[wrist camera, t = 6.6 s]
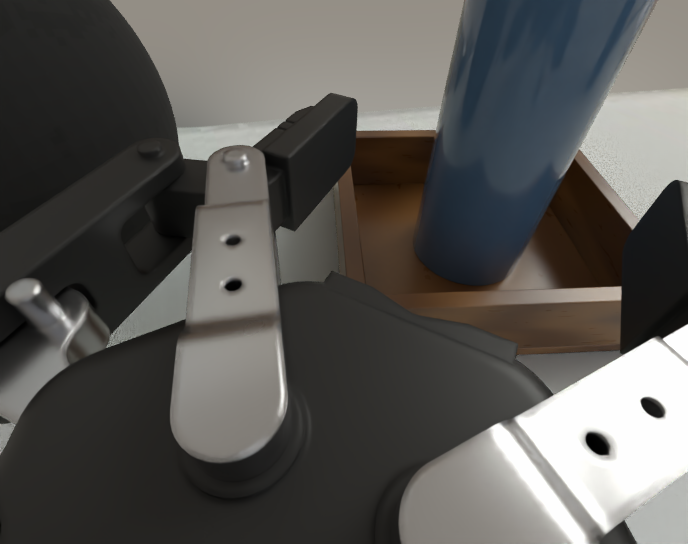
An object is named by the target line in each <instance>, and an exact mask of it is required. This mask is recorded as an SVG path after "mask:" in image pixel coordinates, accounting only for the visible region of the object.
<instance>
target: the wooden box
mask: <svg viewBox="0 0 688 544" xmlns="http://www.w3.org/2000/svg"><path fill="white" fill-rule="evenodd" d="M435 132H436V130H403V131H356V147H355V154H354V158H353V161H352V164H351V166H350V167H349V169H348V170H347V171H346V172H345V174H344V175H343V176H342V177H341V178H340V179H339V181H338V182H337V183H336V184H335V185H334V186H333V193H334V206H335V220H336V233H337V247H338V260H339V274H341V275H344V276H346V277H349V278H352V279H354V280H357V281H359V282H362V283H364V284H367V285H369V286H372V287H374V288H375V289H377V290H378V291H380V292H381V293H383V294H384V295H386V296H387V297H389V298H390V299H392V300H393V301H395V302H396V303H398V304H399V305H401V306H402V307H404V308H405V309H407V310H408V311H410V312H411V313H413V314H416V315H420V316H425V317H431V318H437V319H443V320H448V321H454V322H460V323H465V324H469V325H472V326H474V327H477V328H479V329H482V330H485V331H487V332H490V333H492V334H495V335H497V336H500V337H502V338H505V339H508V340H510V341H513V342H515V343H518V349H517V353H516V355H524V354H546V353H569V352H591V351H613V350H620V330H621V287H622V252H623V248H624V245H625V242H626V240H627V238H628V236H629V234H630V233H631V231H632V230H633V229H634V227H635V226H636V225H637V223H638V222H639V221H640V220H639V219H638V218H637V217H636V216H635V215H634V213H633V212H632V211H631V210H630V209H629V207H628V206H627V205H626V204H625V203H624V202H623V200H622V199H621V198H620V197H619V196H618V194H617V193H616V192H615V191H614V190H613V189H612V187H611V186H610V185H609V184H608V183H607V181H606V180H605V179H604V178H603V177H602V176H601V174H600V173H599V172H598V171H597V170H596V168H595V167H594V166H593V165H592V164H591V163H590V161H589V160H588V159H587V158H586V157H585V155H584V154H583V153H582V152H581V151H580V150H578V152H577V154H576V156H575V158H574V160H573V161H572V163H571V165H570V167H569V169H568V171H567V173H566V175H565V176H564V178H563V180H562V182H561V184H560V186H559V188H558V190H557V191H556V193H555V195H554V197H553V199H552V201H551V203H550V205H549V206H548V208H547V210H546V212H545V214H544V216H543V218H542V220H541V221H540V223H539V225H538V227H537V229H536V231H535V233H534V235H533V237H532V238H531V240H530V242H529V244H528V246H527V248H526V250H525V252H524V253H523V255H522V257H521V259H520V261H519V263H518V265H517V267H516V268H515V270H514V271H513V273H512V274H511V275H510V276H508V277H507V278H505V279H504V280H502V281H500V282H497V283H494V284H490V285H483V286H471V285H464V284H459V283H455V282H452V281H449V280H447V279H444V278H442V277H440V276H439V275H437V274H435V273H434V272H432V271H431V270H430V269H428V268H427V267H426V266H425V265H424V264H423V263H422V262H421V261H420V259H419V258H418V256H417V254H416V252H415V250H414V247H413V234H414V229H415V224H416V220H417V215H418V211H419V206H420V201H421V197H422V192H423V188H424V183H425V178H426V174H427V169H428V165H429V160H430V155H431V151H432V146H433V142H434V137H435Z"/></svg>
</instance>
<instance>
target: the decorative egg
mask: <svg viewBox="0 0 688 544" xmlns="http://www.w3.org/2000/svg"><path fill="white" fill-rule="evenodd" d="M149 138H167V139H171V140H173V141H175V142H176V143H178V145H179V142H178V134H177V128H176V123H175V118H174V114H173V111H172V107H171V104H170V101H169V98H168V95H167V92H166V89H165V87H164V85H163V82H162V80H161V78H160V76H159V73H158V71H157V69H156V67H155V65H154V63H153V62H152V60H151V58H150V56H149V55H148V52H147V51H146V49H145V47H144V46H143V44H142V43H141V41H140V40H139V38H138V36H137V35H136V33H135V32H134V31H133V29H132V28H131V26H130V25H129V24H128V23H127V21H126V20H125V18H124V17H123V16H122V15H121V13H120V12H119V11H118V10H117V9H116V7H115V6H114V5H113V4H112V3H111V2H110V0H0V232H1V231H3V230H4V229H6V228H7V227H9V226H10V225H12V224H13V223H15V222H16V221H18V220H19V219H21V218H22V217H24V216H25V215H27V214H28V213H30V212H31V211H33V210H34V209H36V208H37V207H39V206H40V205H42V204H43V203H45V202H46V201H48V200H49V199H51V198H52V197H54V196H55V195H57V194H58V193H60V192H61V191H63V190H64V189H65V188H67V187H68V186H70V185H71V184H73V183H74V182H76V181H77V180H79V179H80V178H82V177H83V176H85V175H86V174H88V173H89V172H91V171H92V170H94V169H95V168H97V167H98V166H100V165H101V164H103V163H104V162H106V161H107V160H109V159H110V158H112V157H113V156H115V155H116V154H118V153H119V152H121V151H122V150H124V149H125V148H127V147H128V146H130V145H131V144H133V143H135V142H138V141H141V140H144V139H149ZM150 221H151V220H150V217H149V215H148V213H147V211H146V209H145V206H144V207H142V208H141V209H140V210H139V211H138V212H136V213H135V214H134V215H133V216H132V217H130V218H129V219H128V220H127V221H126V222H125V223H124V225H123V227H122V229H121V240H122V242H123V244H125V243H126V242H127V241H128V240H129V239H130V238H132V237H133V236H134V235H135V234H136V233H137V232H138V231H140V230H141V229H142V228H143V227H144V226H145V225H147V224H148V223H149V222H150Z"/></svg>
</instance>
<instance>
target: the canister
mask: <svg viewBox="0 0 688 544" xmlns="http://www.w3.org/2000/svg"><path fill="white" fill-rule="evenodd" d="M657 2H658V0H464V4H463V8H462V13H461V18H460V22H459V27H458V31H457V36H456V41H455V45H454V50H453V55H452V59H451V64H450V68H449V73H448V78H447V82H446V87H445V91H444V96H443V101H442V105H441V109H440V114H439V119H438V123H437V128H436V132H435V137H434V142H433V146H432V151H431V155H430V160H429V165H428V169H427V174H426V178H425V183H424V188H423V192H422V197H421V201H420V206H419V211H418V215H417V220H416V224H415V229H414V234H413V247H414V250H415V252H416V254H417V256H418V258H419V259H420V261H421V262H422V263H423V264H424V265H425V266H426V267H427V268H428V269H430V270H431V271H432V272H434V273H435V274H437V275H439V276H440V277H442V278H444V279H447V280H449V281H452V282H455V283H459V284H464V285H471V286H483V285H490V284H494V283H497V282H500V281H502V280H504V279H505V278H507V277H508V276H510V275H511V274H512V273H513V271H514V270H515V268H516V267H517V265H518V263H519V261H520V259H521V257H522V255H523V253H524V252H525V250H526V248H527V246H528V244H529V242H530V240H531V238H532V237H533V235H534V233H535V231H536V229H537V227H538V225H539V223H540V221H541V220H542V218H543V216H544V214H545V212H546V210H547V208H548V206H549V205H550V203H551V201H552V199H553V197H554V195H555V193H556V191H557V190H558V188H559V186H560V184H561V182H562V180H563V178H564V176H565V175H566V173H567V171H568V169H569V167H570V165H571V163H572V161H573V160H574V158H575V156H576V154H577V152H578V150H579V148H580V146H581V145H582V143H583V141H584V139H585V137H586V135H587V133H588V131H589V130H590V128H591V126H592V124H593V122H594V120H595V118H596V116H597V114H598V113H599V111H600V109H601V107H602V105H603V103H604V101H605V99H606V98H607V96H608V94H609V92H610V90H611V88H612V86H613V84H614V83H615V81H616V79H617V77H618V75H619V73H620V71H621V69H622V68H623V66H624V64H625V62H626V60H627V58H628V56H629V54H630V53H631V51H632V49H633V47H634V45H635V43H636V41H637V39H638V38H639V36H640V34H641V32H642V30H643V28H644V26H645V24H646V22H647V21H648V19H649V17H650V15H651V13H652V11H653V9H654V7H655V6H656V4H657Z"/></svg>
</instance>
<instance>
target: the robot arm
mask: <svg viewBox="0 0 688 544" xmlns="http://www.w3.org/2000/svg"><path fill="white" fill-rule="evenodd" d="M357 108H358V107H357V101H356V99H354V98H350V97H346V96H342V95H338V94H333V93H330V94H328V95H327V96H326V97H325V98H323V99H322V100H321V101H320V102H319V103H317V104H316V105H315V106H310V107H307V108H304V109H301V110H299V111H296V112H295V113H294V114H293V115H291V116H290V117H289V118H287V119H286V122H283V123H281V124H280V125H279V126H278V128H275V129H274V130H273V131H271V132H270V133H269V134H268V135H267V136H265V137H264V138H263V139H262V140H260V141H259V142H258V143H257V144H255V145H254V146H253V147H250V146H244V145H235V146H229V147H225V148H222V149H220V150H218V151H216V152H214V153H213V154H212V155H211V156H210V157H209V159H208V161H203V160H191V159H183V156H182V153H181V150H180V146H179V145H178V143H176V142H175V141H173V140H171V139H167V138H149V139H144V140H141V141H138V142H135V143H133V144H131V145H130V146H128V147H127V148H125V149H124V150H122V151H121V152H119V153H118V154H116V155H115V156H113V157H112V158H110V159H109V160H107V161H106V162H104V163H103V164H101V165H100V166H98V167H97V168H95V169H94V170H92V171H91V172H89V173H88V174H86V175H85V176H83V177H82V178H80V179H79V180H77V181H76V182H74V183H73V184H71V185H70V186H68V187H67V188H65V189H64V190H63V191H61V192H60V193H58V194H57V195H55V196H54V197H52V198H51V199H49V200H48V201H46V202H45V203H43V204H42V205H40V206H39V207H37V208H36V209H34V210H33V211H31V212H30V213H28V214H27V215H25V216H24V217H22V218H21V219H19V220H18V221H16V222H15V223H13V224H12V225H10V226H9V227H7V228H6V229H4V230H3V231H1V232H0V424H5V423H14V424H16V426H15V428H14V430H13V432H12V434H11V436H10V438H9V440H8V442H7V444H6V446H5V448H4V450H3V452H2V453H1V455H0V544H637V543H636V541H635V539H634V537H633V535H632V533H631V532H630V530H629V528H628V526H627V524H626V522H625V521H624V519H626V518H627V517H628V516H630V515H631V514H632V513H633V512H635V511H636V510H637V509H639V508H640V507H641V506H643V505H644V504H645V503H646V502H648V501H649V500H650V499H652V498H653V497H654V496H656V495H657V494H658V493H659V492H661V491H662V490H663V489H665V488H666V487H667V486H669V485H670V484H671V483H672V482H674V481H675V480H676V479H678V478H679V477H680V476H682V475H683V474H684V473H685V472H687V471H688V183H687V182H683V181H679V180H674V181H672V182H671V183H670V184H669V185H668V186H667V187H666V188H665V189H664V190H663V191H662V193H661V194H660V195H659V197H658V198H657V199H656V200H655V202H654V203H653V204H652V206H651V207H650V208H649V209H648V211H647V212H646V213H645V214H644V216H643V217H642V218H641V220H640V221H639V222H638V223H637V225H636V226H635V227H634V229H633V230H632V231H631V233H630V234H629V236H628V238H627V240H626V242H625V245H624V248H623V252H622V287H621V330H620V353H621V354H623V356H621V357H619V358H618V359H616V360H614V361H612V362H611V363H609V364H607V365H605V366H604V367H602V368H600V369H599V370H597V371H595V372H593V373H592V374H590V375H588V376H586V377H585V378H583V379H581V380H579V381H578V382H576V383H574V384H572V385H571V386H569V387H567V388H565V389H564V390H562V391H560V392H558V393H557V394H555V395H553V393H552V392H551V391H550V390H549V389H548V387H547V386H546V385H545V384H544V383H543V382H542V381H541V380H540V379H539V378H538V377H537V376H536V375H535V374H534V373H533V372H531V371H530V370H529V369H528V368H526V367H525V366H524V365H523V364H521V363H520V362H518V361H517V360H515V358H516V353H517V349H518V343H515V342H513V341H510V340H508V339H505V338H502V337H500V336H497V335H495V334H492V333H490V332H487V331H485V330H482V329H479V328H477V327H474V326H472V325H469V324H465V323H460V322H454V321H448V320H443V319H437V318H431V317H425V316H420V315H416V314H413V313H411V312H410V311H408V310H407V309H405V308H404V307H402V306H401V305H399V304H398V303H396V302H395V301H393V300H392V299H390V298H389V297H387V296H386V295H384V294H383V293H381V292H380V291H378V290H377V289H375V288H374V287H372V286H369V285H367V284H364V283H362V282H359V281H357V280H354V279H352V278H349V277H346V276H344V275H341V274H339V273H336V272H334V271H331V273H330V274H329V275H328V277H327V278H326V280H325V281H324V283H322V282H310V281H305V282H293V283H286V284H282V285H281V276H280V267H279V259H278V250H277V241H276V234H275V231H276V230H277V229H278V228H279V227H280V226H282V227H284V228H287V229H290V230H292V231H296V230H297V228H298V227H299V226H300V225H301V224H302V223H303V221H304V220H305V219H306V218H307V217H308V216H309V214H310V213H311V212H312V211H313V210H314V209H315V207H316V206H317V205H318V204H319V203H320V202H321V200H322V199H323V198H324V197H325V196H326V195H327V193H328V192H329V191H330V190H331V189H332V188H333V186H334V185H335V184H336V183H337V182H338V181H339V179H340V178H341V177H342V176H343V175H344V174H345V172H346V171H347V170H348V169H349V167H350V166H351V164H352V161H353V158H354V154H355V147H356V129H357ZM144 206H145V209H146V211H147V213H148V215H149V217H150V220H151V221H150V222H149V223H148V224H147V225H145V226H144V227H143V228H142V229H141V230H140V231H138V232H137V233H136V234H135V235H134V236H133V237H132V238H130V239H129V240H128V241H127V242H126V243H125V244H123V242H122V240H121V229H122V227H123V225H124V223H125V222H126V221H127V220H128V219H129V218H130V217H132V216H133V215H134V214H135V213H136V212H138V211H139V210H140V209H141V208H142V207H144ZM191 251H192V255H191V267H190V278H189V290H188V301H187V313H186V319H185V320H182V321H179V322H177V323H174V324H171V325H168V326H166V327H163V328H160V329H158V330H155V331H152V332H149V333H147V334H144V335H141V336H138V337H136V338H133V339H130V340H128V341H125V342H122V343H119V344H117V345H114V346H111V347H109V348H106V347H107V345H108V342H109V339H110V335H111V334H112V333H113V332H114V330H115V329H116V328H117V327H118V326H119V325H120V324H121V323H122V322H123V321H124V320H125V319H126V318H127V317H128V316H129V315H130V314H131V313H132V312H133V311H134V310H135V309H136V308H137V307H138V306H139V305H140V303H141V302H142V301H143V300H144V299H145V298H146V297H147V296H148V295H149V294H150V293H151V292H152V291H153V290H154V289H155V288H156V287H157V286H158V285H159V284H160V283H161V282H162V281H163V280H164V279H165V278H166V276H167V275H168V274H169V273H170V272H171V271H172V270H173V269H174V268H175V267H176V266H177V265H178V264H179V263H180V262H181V261H182V260H183V259H184V258H185V257H186V256H187V255H188V254H189V253H190V252H191Z"/></svg>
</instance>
